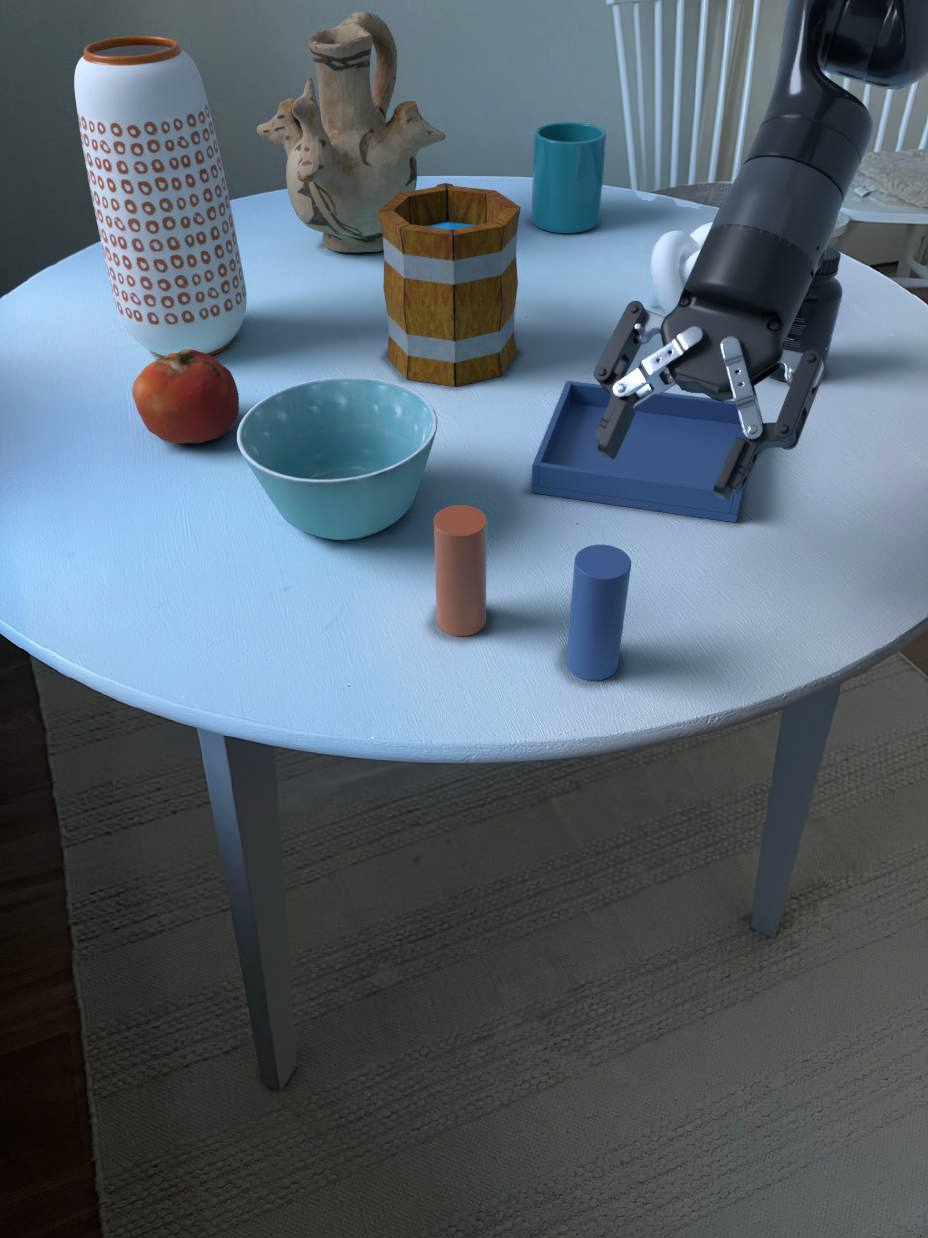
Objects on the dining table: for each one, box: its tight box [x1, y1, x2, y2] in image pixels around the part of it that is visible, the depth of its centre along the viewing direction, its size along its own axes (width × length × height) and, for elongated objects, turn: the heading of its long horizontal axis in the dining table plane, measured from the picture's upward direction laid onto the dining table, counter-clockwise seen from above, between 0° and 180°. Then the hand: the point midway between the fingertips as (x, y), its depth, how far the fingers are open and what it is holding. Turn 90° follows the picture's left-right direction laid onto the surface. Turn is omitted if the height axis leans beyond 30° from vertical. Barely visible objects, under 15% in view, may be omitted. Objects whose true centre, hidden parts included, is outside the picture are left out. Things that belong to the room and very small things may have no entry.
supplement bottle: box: [768, 245, 844, 382], centre depth 98 cm, size 7×7×12 cm
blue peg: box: [565, 544, 632, 682], centre depth 67 cm, size 4×4×9 cm
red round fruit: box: [131, 349, 240, 445], centre depth 91 cm, size 9×9×8 cm
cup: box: [530, 121, 607, 234], centre depth 131 cm, size 9×12×11 cm
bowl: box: [236, 376, 438, 541], centre depth 81 cm, size 16×16×8 cm
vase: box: [73, 35, 248, 359], centre depth 98 cm, size 13×13×28 cm
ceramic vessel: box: [256, 11, 447, 253], centre depth 120 cm, size 18×19×25 cm
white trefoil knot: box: [650, 221, 713, 316], centre depth 109 cm, size 11×12×9 cm
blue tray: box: [530, 380, 743, 523], centre depth 89 cm, size 17×15×3 cm
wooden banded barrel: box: [378, 182, 522, 388], centre depth 102 cm, size 20×14×15 cm
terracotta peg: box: [433, 504, 488, 637], centre depth 70 cm, size 4×4×9 cm
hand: (661, 475), depth 67 cm, fingers open, 8 cm apart
